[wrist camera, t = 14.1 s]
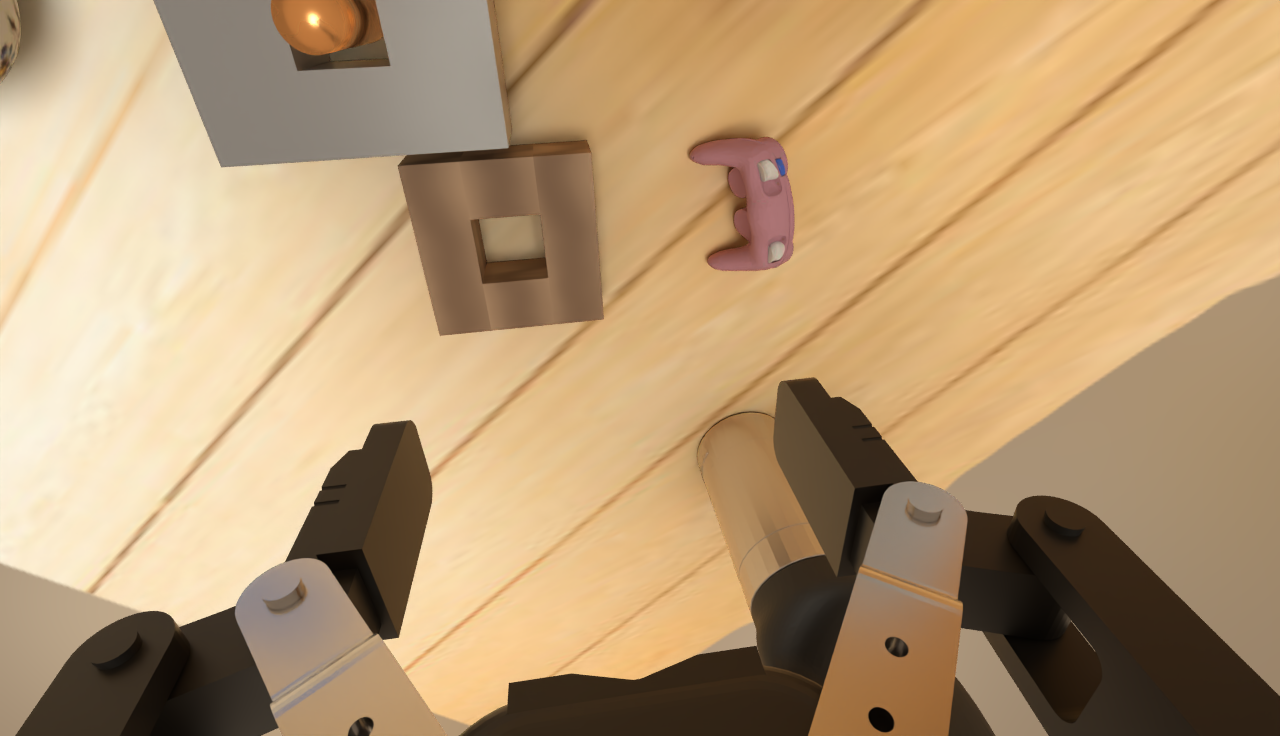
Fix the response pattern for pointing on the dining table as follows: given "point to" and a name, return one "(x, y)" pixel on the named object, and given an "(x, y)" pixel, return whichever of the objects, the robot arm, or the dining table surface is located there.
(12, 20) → the teacup
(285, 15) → the pin
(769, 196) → the video game controller
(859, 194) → the dining table surface
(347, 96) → the dock socket
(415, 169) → the pin mount
